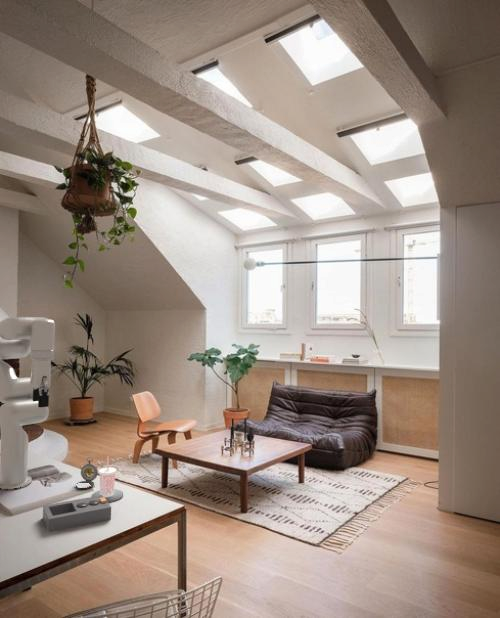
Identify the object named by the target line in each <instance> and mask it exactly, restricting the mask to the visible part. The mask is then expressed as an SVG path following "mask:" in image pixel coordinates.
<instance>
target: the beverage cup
mask: <svg viewBox="0 0 500 618" xmlns="http://www.w3.org/2000/svg"><path fill="white" fill-rule="evenodd" d="M109 460H110V459H109V455H108V456H107V459H106V461H107V462H106V467H101V468H100V469H99V470H98V474H99V486H100V487H99V491H100V495H103V497H111V496H113V494H114V489H115V482H116V473H117V468H115V467H113V466H112V467H111V466H110V467H109Z"/></svg>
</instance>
